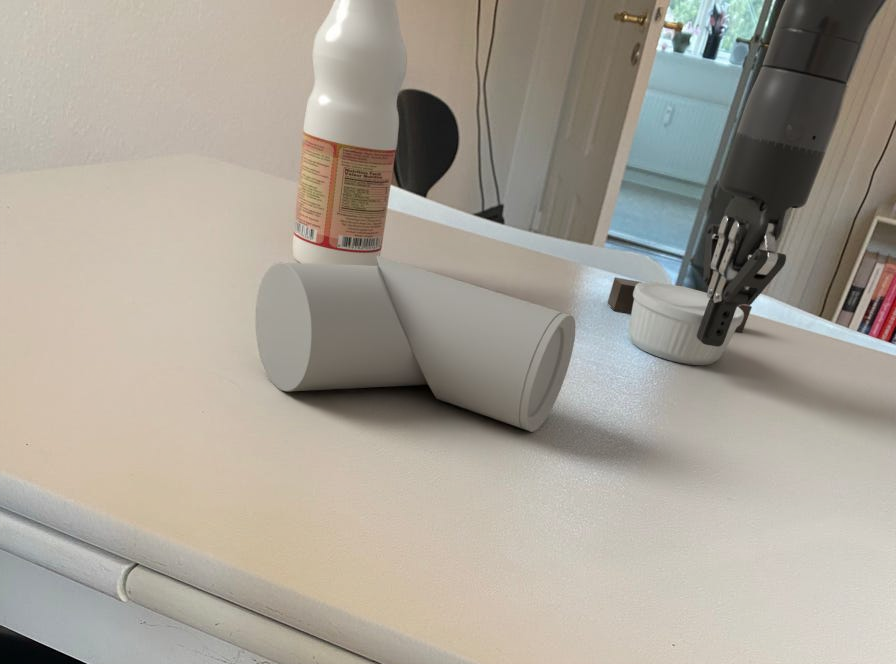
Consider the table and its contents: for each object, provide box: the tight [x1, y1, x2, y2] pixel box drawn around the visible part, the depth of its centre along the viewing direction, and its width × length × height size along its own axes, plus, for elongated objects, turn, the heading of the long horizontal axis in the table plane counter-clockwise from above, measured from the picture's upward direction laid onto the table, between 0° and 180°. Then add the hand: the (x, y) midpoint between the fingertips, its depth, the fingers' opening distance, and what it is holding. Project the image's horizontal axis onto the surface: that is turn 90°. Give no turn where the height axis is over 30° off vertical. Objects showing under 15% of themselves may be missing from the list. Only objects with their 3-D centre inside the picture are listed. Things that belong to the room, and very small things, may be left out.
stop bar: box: [606, 277, 752, 333], centre depth 105 cm, size 16×3×3 cm, turn 94°
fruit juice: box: [292, 0, 408, 266], centre depth 90 cm, size 9×9×28 cm
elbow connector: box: [254, 255, 576, 433], centre depth 65 cm, size 18×11×20 cm
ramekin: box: [628, 281, 744, 366], centre depth 92 cm, size 11×11×5 cm
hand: (708, 342), depth 86 cm, fingers closed
